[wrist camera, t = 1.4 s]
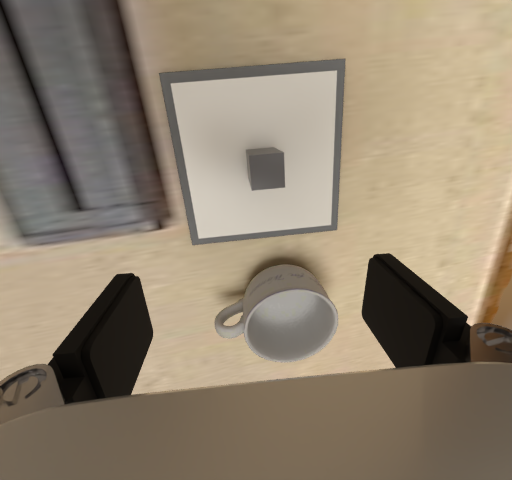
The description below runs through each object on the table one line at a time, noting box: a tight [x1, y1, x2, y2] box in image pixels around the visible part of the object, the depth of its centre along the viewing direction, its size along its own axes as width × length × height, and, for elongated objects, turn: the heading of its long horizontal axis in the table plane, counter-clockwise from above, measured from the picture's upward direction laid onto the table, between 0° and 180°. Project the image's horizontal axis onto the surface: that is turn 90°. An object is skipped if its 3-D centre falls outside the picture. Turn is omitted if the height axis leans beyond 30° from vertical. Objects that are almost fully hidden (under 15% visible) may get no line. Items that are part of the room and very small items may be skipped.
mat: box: [159, 59, 345, 245], centre depth 29 cm, size 18×18×1 cm
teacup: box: [215, 264, 338, 362], centre depth 33 cm, size 14×11×8 cm
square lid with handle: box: [171, 70, 337, 239], centre depth 26 cm, size 16×16×7 cm
